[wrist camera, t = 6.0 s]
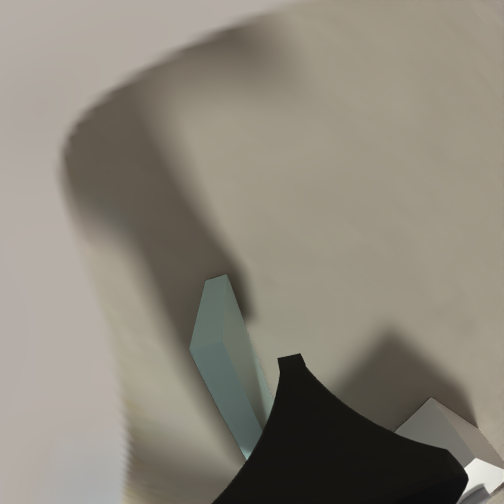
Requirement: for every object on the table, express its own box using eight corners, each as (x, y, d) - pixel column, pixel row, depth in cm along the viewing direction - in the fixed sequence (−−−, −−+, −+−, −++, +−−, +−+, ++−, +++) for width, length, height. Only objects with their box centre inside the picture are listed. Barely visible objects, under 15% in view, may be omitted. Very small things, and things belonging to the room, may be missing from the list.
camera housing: (369, 517, 17) (387, 570, 12) (295, 503, 16) (308, 574, 10) (479, 429, 16) (518, 480, 10) (430, 396, 14) (483, 469, 8)
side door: (312, 493, 15) (326, 554, 11) (294, 498, 15) (305, 559, 11) (228, 272, 11) (225, 342, 7) (197, 282, 11) (176, 355, 7)
